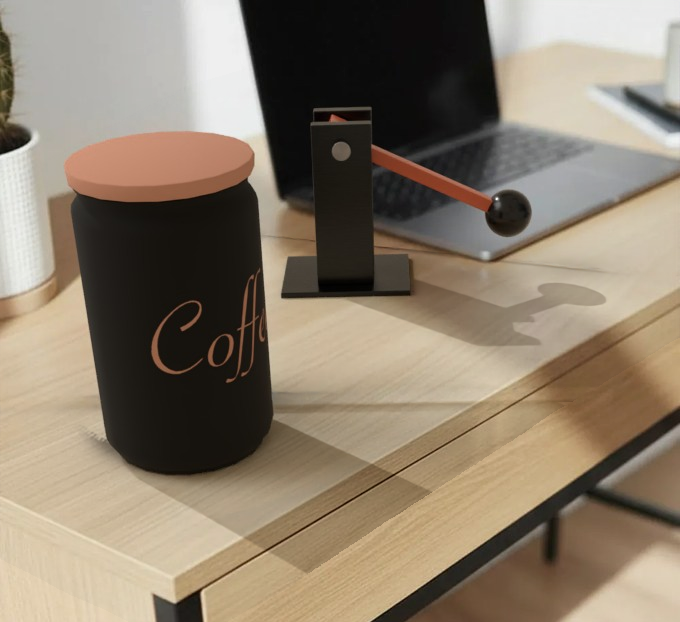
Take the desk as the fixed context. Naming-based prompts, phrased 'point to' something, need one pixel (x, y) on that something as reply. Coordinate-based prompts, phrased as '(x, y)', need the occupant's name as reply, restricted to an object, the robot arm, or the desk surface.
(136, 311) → the coffee jar
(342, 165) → the post on base plate
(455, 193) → the lever with ball knob
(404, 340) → the desk surface
